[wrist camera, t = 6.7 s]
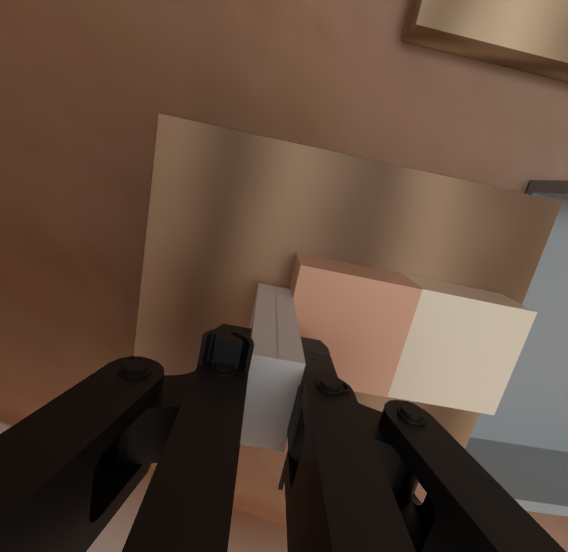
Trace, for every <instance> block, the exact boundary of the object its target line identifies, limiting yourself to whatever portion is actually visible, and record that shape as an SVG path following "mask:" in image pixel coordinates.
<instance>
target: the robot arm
mask: <svg viewBox="0 0 568 552" xmlns="http://www.w3.org/2000/svg"><path fill="white" fill-rule="evenodd" d="M332 362H333V361H332V358H331V357H330V352H329V349H328V347H327V346H326V345H325V344H324V343H322V342H321V341H320V340H316V339H311V338H305V337H301V336H300V331H299V326H298V320H297V315H296V309H295V304H294V299H293V296H292V290H291V289H287V288H282V287H277V286H272V285H267V284H262V283H259V284H258V289H257V294H256V299H255V304H254V309H253V314H252V319H251V324H250V328H245V327H240V326H234V325H229V324H222V325H220V326H219V327H217V328H215V329H212V330H209V331H206V332H205V333H204V334H203V335H202V341H201V346H200V352H199V358H198V364H197V367H196V369H195V371H193V372H190V373H186V374H182V375H164V367H163V366H162V365H161V364H160V363H159V362H157V361H155V360H152V359H150V358H145V357H141V356H137V357H135V356H130V357H125V358H120V359H117V360H115V361H112V362H110V363H109V364H107V365H106V366H104V367H102V368H101V369H99V370H98V371H96V372H95V373H93V374H92V375H90V376H89V377H87V378H86V379H84V380H83V381H81V382H80V383H78V384H76V385H75V386H73V387H72V388H70V389H69V390H67V391H66V392H64V393H63V394H61V395H60V396H58V397H57V398H55V399H53V400H52V401H50V402H49V403H47V404H46V405H44V406H43V407H41V408H40V409H38V410H37V411H35V412H34V413H32V414H31V415H29V416H27V417H26V418H24V419H23V420H21V421H20V422H18V423H17V424H15V425H14V426H12V427H11V428H9V429H8V430H6V431H4V432H3V433H2V434H0V552H86V551H87V550H88V548H89V547H90V546H91V544H92V543H93V542H94V541H95V539H96V538H97V537H98V535H99V534H100V533H101V532H102V530H103V529H104V528H105V526H106V525H107V524H108V523H109V521H110V520H111V519H112V517H113V516H114V515H115V514H116V512H117V511H118V510H119V508H120V507H121V506H122V504H123V503H124V502H125V500H126V499H127V498H128V497H129V495H130V494H131V493H132V491H133V490H134V489H135V488H136V486H137V485H138V484H139V483H140V481H141V480H142V479H143V477H144V476H145V475H146V474H147V472H148V470H149V468H150V466H151V463H157V462H158V464H157V466H156V469H155V471H154V474H153V476H152V478H151V481H150V484H149V486H148V488H147V491H146V494H145V496H144V498H143V501H142V503H141V506H140V508H139V511H138V513H137V516H136V518H135V521H134V523H133V526H132V528H131V531H130V533H129V535H128V538H127V540H126V543H125V545H124V548H123V550H122V552H227V549H228V540H229V532H230V524H231V515H232V507H233V499H234V490H235V482H236V474H237V465H238V457H239V448H240V445H246V446H252V447H258V448H265V449H271V450H277V451H284V448H285V444H286V440H287V436H288V452H287V455H286V459H285V463H284V467H283V471H282V475H281V479H280V483H279V487H278V489H281V490H282V489H283V485H284V483H285V498H286V522H287V546H288V552H566V551H565V550H564V549H563V548H562V547H561V546H560V545H559V544H558V543H557V542H556V541H555V540H554V539H553V538H552V537H551V536H550V535H549V534H548V533H547V532H546V531H545V530H544V529H543V528H542V527H541V526H540V525H539V524H538V523H537V522H536V521H535V520H534V519H533V518H532V517H531V516H530V515H529V514H528V513H527V512H526V511H525V510H524V509H523V508H522V507H521V506H520V505H519V503H518V502H517V501H516V500H515V499H514V498H513V497H512V496H511V495H510V494H509V493H508V492H507V491H506V490H505V489H504V488H503V487H502V486H501V485H500V484H499V483H498V482H497V481H496V480H495V479H494V478H493V477H492V476H491V475H490V474H489V473H488V472H487V471H486V470H485V469H484V468H483V467H482V466H481V465H480V464H479V463H478V462H477V461H476V460H475V459H474V458H473V457H472V456H471V455H470V454H469V453H468V452H467V451H466V450H465V449H464V448H463V447H462V446H461V445H460V444H459V443H458V442H457V441H456V440H455V439H454V437H453V436H452V435H451V434H450V433H449V432H448V431H447V430H446V429H445V428H444V427H443V426H442V425H441V424H440V423H439V422H438V421H437V420H436V419H435V418H434V417H433V416H432V415H430V414H429V413H428V412H427V411H426V410H424V409H422V408H421V407H419V406H418V405H416V404H414V403H412V402H411V403H410V402H409V401H402V400H390V401H388V402H387V403H385V405H384V408H383V411H382V412H381V411H378V410H375V409H372V408H370V407H367V406H365V405H362V404H360V403H358V401H357V398H356V396H355V393H354V391H353V390H352V388H351V387H350V385H348V384H347V383H346V382H344V381H343V380H341V379H339V378H338V376H337V373H336V370H335V367H334V364H333V363H332ZM418 482H419V483H420V484H421V486H422V487H423V488H424V490H425V491H426V492H427V495H426V497H425V500H424V502H423V503H421V502H420V501H419V499H418V498H417V497H416V495H415V494H414V492H415V490H416V487H417V484H418Z"/></svg>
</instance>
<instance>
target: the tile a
mask: <svg viewBox="0 0 568 552" xmlns="http://www.w3.org/2000/svg"><path fill="white" fill-rule="evenodd" d="M288 289H291V290H292V296H293V299H294V304H295V309H296V315H297V320H298V326H299V331H300V336H301V337H305V338H311V339H316V340H320V341H321V342H322V343H324V344H325V345H326V346H327V347H328V349H329V352H330V357H331V358H332V361H333V362H332V363H333V364H334V367H335V370H336V373H337V376H338V378H339V379H341V380H343V381H344V382H346V383H347V384H348V385H350V387H351V388H352V390H353V391H354V392H360V393H365V394H371V395H377V396H383V397H388V394H389V391H390V388H391V385H392V382H393V378H394V375H395V372H396V369H397V366H398V363H399V360H400V357H401V354H402V351H403V348H404V345H405V342H406V339H407V336H408V333H409V330H410V327H411V324H412V320H413V317H414V314H415V311H416V308H417V305H418V302H419V299H420V296H421V293H422V289H421V288H420V287H418V286H417V285H416V284H414V283H413V282H412V281H410V280H409V279H408V278H406V277H405V276H404V275H402V274H401V273H396V272H391V271H386V270H381V269H376V268H371V267H366V266H362V265H357V264H352V263H347V262H342V261H337V260H332V259H327V258H322V257H318V256H313V255H308V254H303V253H298V252H296V257H295V261H294V266H293V270H292V275H291V279H290V283H289V288H288Z"/></svg>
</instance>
